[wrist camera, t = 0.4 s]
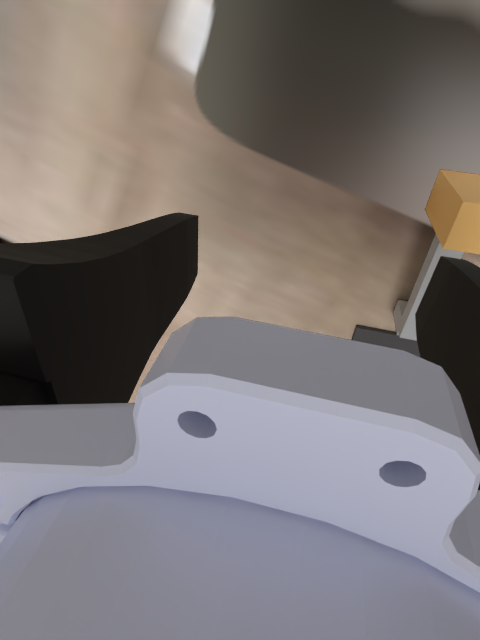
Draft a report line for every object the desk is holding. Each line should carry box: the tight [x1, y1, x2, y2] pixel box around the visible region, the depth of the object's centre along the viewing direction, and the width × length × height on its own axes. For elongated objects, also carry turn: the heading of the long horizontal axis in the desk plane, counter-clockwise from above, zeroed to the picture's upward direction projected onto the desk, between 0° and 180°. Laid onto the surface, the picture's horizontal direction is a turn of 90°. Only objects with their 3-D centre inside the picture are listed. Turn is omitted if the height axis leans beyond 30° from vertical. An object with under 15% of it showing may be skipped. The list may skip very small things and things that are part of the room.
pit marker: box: [352, 325, 421, 358], centre depth 27 cm, size 8×6×1 cm
